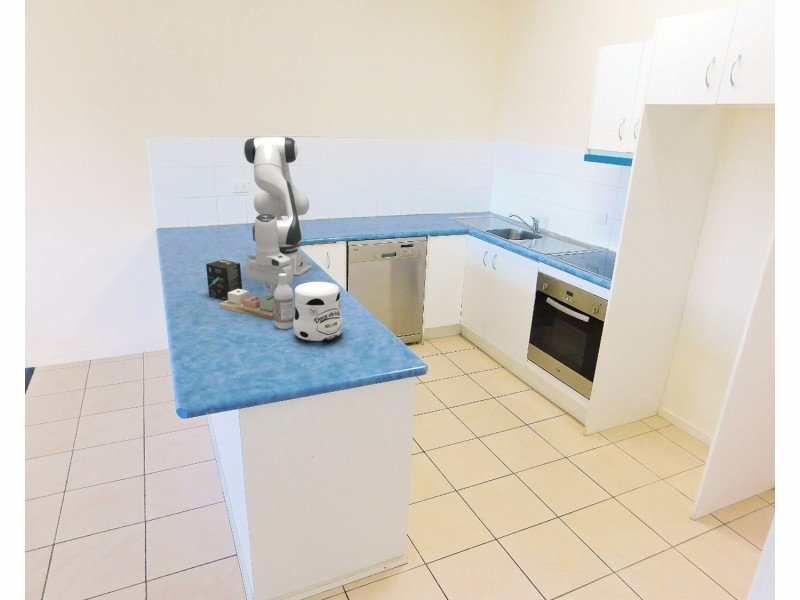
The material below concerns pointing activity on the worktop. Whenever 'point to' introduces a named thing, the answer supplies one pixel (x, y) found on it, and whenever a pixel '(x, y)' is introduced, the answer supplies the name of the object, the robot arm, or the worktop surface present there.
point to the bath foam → (284, 304)
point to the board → (247, 310)
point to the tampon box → (223, 278)
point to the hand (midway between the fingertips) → (270, 292)
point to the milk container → (317, 312)
